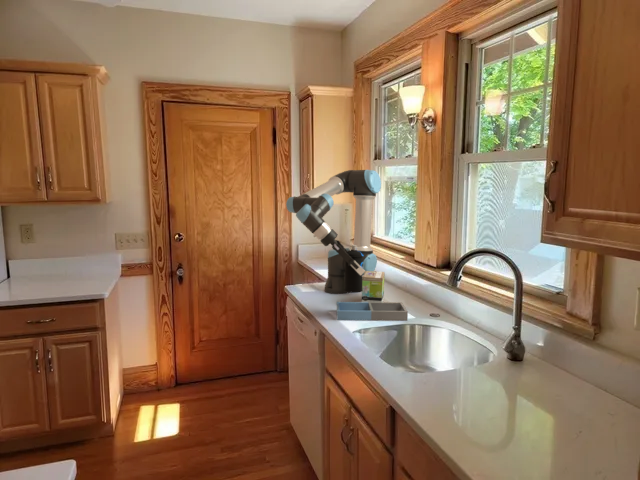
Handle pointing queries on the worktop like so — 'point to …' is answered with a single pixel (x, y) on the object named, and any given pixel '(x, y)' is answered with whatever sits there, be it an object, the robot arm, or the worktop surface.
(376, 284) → the tea box
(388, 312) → the tray
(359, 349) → the worktop surface
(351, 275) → the black bottle
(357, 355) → the worktop surface
